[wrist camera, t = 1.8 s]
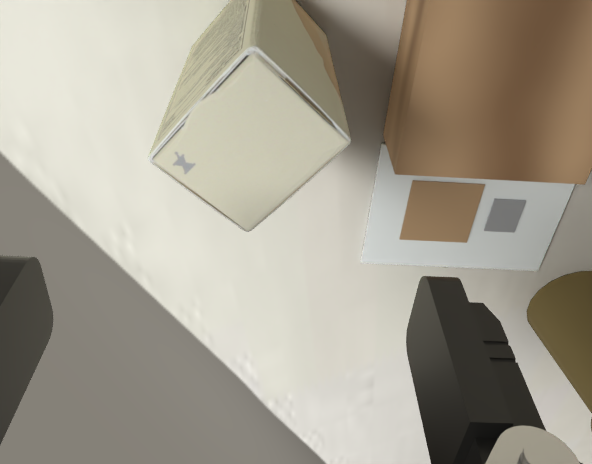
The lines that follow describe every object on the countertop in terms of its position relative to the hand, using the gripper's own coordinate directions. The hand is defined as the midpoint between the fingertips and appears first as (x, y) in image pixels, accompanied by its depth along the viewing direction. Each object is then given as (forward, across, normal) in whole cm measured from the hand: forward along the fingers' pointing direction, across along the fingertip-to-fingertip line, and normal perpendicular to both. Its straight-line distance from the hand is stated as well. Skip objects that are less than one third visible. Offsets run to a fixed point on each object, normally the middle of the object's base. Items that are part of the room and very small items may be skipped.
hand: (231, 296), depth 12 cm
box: (+18, 0, 0) cm, 18 cm away
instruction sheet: (+17, -12, +9) cm, 23 cm away
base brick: (+17, -11, 0) cm, 21 cm away
